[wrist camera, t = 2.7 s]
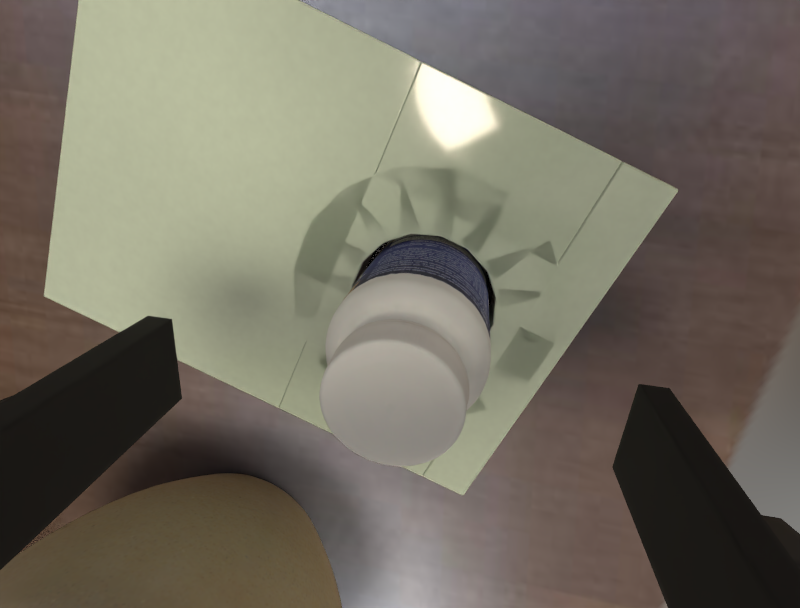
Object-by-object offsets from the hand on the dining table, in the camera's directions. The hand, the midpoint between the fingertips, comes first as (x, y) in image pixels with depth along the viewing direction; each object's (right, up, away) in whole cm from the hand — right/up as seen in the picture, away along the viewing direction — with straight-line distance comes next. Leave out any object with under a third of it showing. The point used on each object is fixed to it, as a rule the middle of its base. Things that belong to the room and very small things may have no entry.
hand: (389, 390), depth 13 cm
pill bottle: (+2, +3, +8) cm, 9 cm away
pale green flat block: (-3, +5, +8) cm, 10 cm away
